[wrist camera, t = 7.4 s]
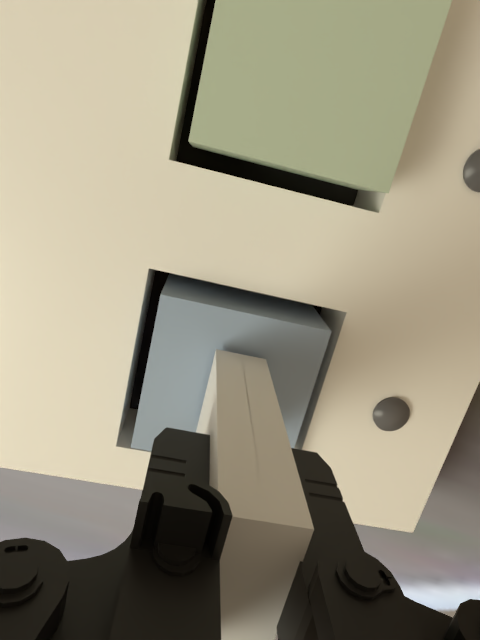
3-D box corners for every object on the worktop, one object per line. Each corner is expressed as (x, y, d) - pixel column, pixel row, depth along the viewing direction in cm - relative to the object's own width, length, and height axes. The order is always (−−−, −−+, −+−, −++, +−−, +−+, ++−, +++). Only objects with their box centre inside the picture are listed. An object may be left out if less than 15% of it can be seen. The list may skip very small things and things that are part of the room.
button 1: (143, 404, 16) (130, 447, 14) (169, 273, 15) (160, 294, 12) (274, 428, 17) (285, 473, 14) (312, 305, 16) (331, 331, 13)
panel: (-12, 418, 17) (-51, 461, 14) (87, -767, 9) (39, -1135, 6) (387, 486, 19) (414, 535, 16) (756, -425, 11) (917, -602, 8)
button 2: (193, 147, 13) (188, 140, 10) (233, -56, 11) (238, -121, 9) (355, 189, 14) (388, 193, 11) (412, 2, 12) (466, -44, 10)
